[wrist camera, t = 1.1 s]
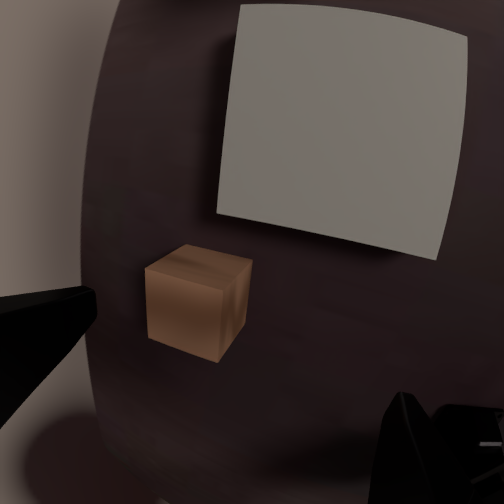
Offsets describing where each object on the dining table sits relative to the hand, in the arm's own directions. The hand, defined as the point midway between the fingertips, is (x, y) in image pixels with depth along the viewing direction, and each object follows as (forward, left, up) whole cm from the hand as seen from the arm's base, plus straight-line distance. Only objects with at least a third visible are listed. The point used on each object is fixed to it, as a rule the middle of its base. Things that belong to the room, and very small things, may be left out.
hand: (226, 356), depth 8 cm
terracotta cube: (-5, +6, -13) cm, 15 cm away
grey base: (+7, -1, -13) cm, 15 cm away
